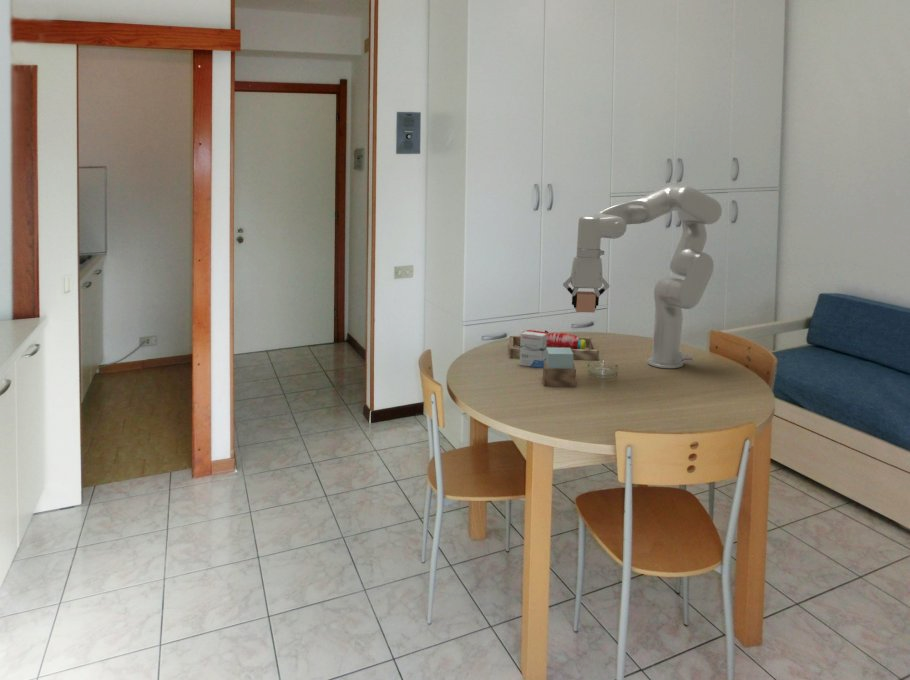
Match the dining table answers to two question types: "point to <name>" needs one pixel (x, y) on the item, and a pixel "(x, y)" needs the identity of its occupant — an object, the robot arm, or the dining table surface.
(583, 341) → the water bottle
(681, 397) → the dining table surface
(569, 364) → the teal block
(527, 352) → the ink box
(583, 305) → the rust cube
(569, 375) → the walnut block
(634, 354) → the dining table surface
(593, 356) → the bottle cradle
